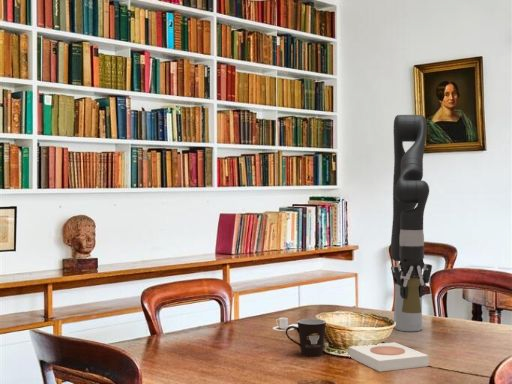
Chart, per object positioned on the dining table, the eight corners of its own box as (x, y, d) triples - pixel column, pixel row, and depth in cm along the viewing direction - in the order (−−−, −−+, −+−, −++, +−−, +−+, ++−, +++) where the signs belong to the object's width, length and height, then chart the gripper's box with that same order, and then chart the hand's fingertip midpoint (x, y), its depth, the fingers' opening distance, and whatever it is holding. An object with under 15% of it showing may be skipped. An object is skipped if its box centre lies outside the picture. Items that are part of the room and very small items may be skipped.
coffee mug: (328, 351, 225) (328, 319, 225) (322, 358, 217) (322, 325, 217) (292, 349, 229) (292, 317, 229) (284, 355, 221) (284, 322, 221)
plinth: (348, 356, 219) (348, 345, 219) (394, 351, 225) (394, 341, 225) (379, 371, 202) (379, 359, 202) (428, 366, 208) (428, 354, 208)
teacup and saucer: (300, 329, 261) (300, 317, 261) (289, 333, 254) (289, 321, 254) (279, 326, 265) (279, 315, 265) (268, 330, 259) (268, 319, 259)
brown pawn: (421, 313, 227) (421, 278, 226) (401, 313, 228) (401, 277, 227) (421, 309, 233) (421, 275, 232) (401, 309, 234) (402, 275, 233)
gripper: (424, 241, 235) (424, 294, 236) (385, 243, 230) (385, 297, 231) (438, 244, 228) (437, 298, 229) (398, 246, 223) (398, 301, 224)
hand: (411, 297), depth 230 cm, fingers closed on brown pawn, 5 cm apart
